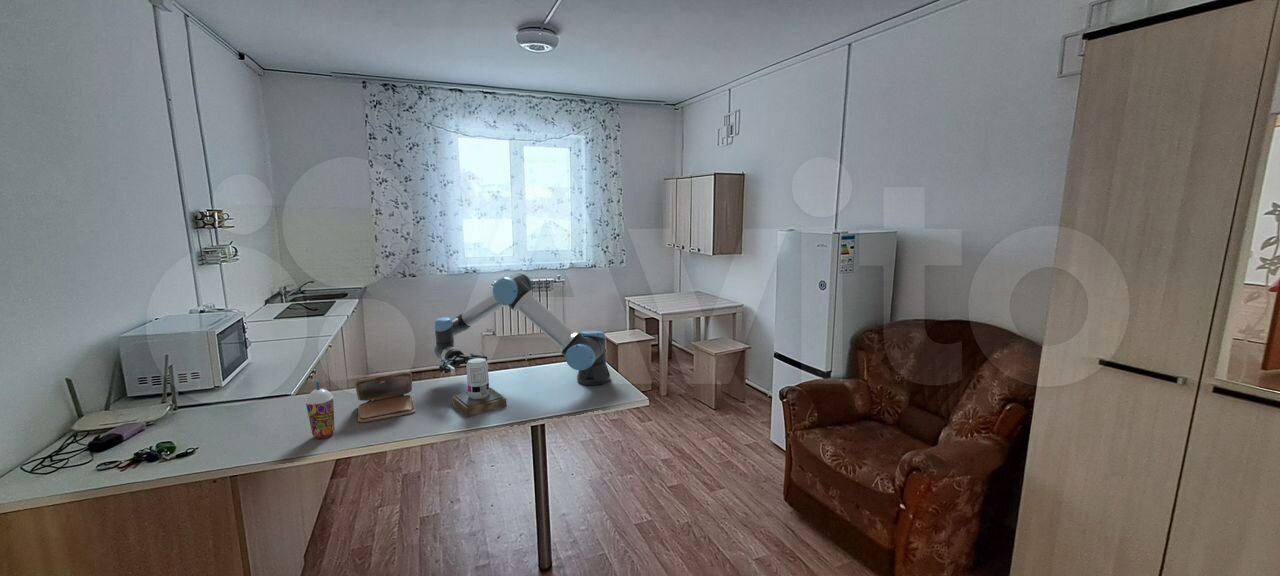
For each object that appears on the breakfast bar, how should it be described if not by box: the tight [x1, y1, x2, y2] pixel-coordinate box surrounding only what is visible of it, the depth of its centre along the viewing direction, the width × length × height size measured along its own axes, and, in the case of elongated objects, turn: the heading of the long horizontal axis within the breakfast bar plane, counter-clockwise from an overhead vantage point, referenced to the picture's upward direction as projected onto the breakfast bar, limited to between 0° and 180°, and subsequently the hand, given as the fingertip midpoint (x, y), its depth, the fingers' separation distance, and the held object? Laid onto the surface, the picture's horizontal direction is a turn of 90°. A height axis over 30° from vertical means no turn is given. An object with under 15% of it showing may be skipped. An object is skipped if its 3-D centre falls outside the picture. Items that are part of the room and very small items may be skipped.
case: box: [354, 370, 417, 424], centre depth 201 cm, size 20×21×16 cm
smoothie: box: [305, 381, 336, 440], centre depth 178 cm, size 8×8×20 cm
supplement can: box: [465, 358, 490, 399], centre depth 203 cm, size 8×8×15 cm
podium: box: [452, 387, 508, 418], centre depth 205 cm, size 16×16×4 cm
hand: (470, 368), depth 207 cm, fingers open, 13 cm apart
